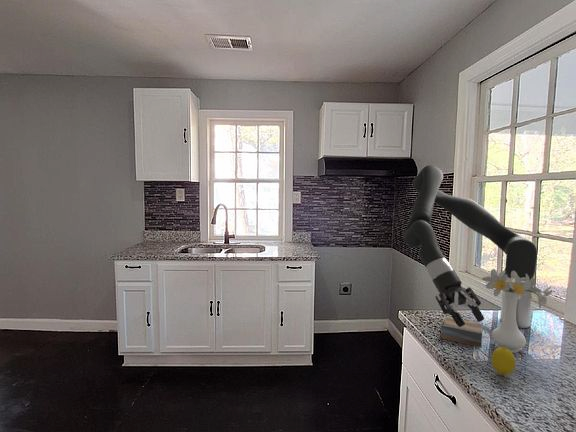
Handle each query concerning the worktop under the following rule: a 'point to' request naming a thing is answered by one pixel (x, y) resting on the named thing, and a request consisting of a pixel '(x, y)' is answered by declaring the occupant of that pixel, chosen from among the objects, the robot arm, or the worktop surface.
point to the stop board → (462, 332)
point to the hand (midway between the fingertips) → (472, 323)
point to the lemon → (503, 361)
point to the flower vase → (512, 306)
